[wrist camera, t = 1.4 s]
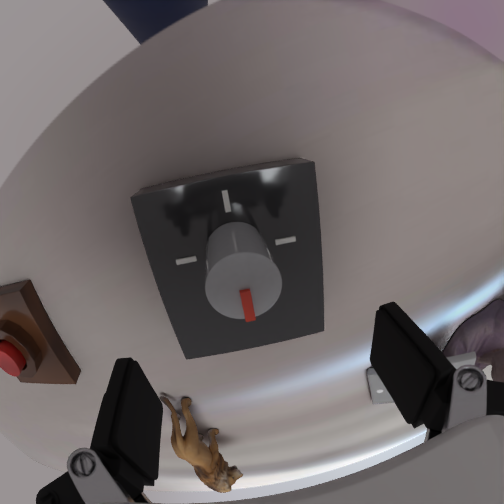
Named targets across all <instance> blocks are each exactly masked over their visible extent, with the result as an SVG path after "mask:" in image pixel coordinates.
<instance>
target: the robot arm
mask: <svg viewBox="0 0 504 504" xmlns="http://www.w3.org/2000/svg"><path fill="white" fill-rule="evenodd" d="M370 362H371V365H372V367H373V368H374V370H375V371H376V373H377V375H378V376H379V378H380V379H381V381H382V383H383V384H384V386H385V388H386V389H387V391H388V392H389V394H390V396H391V397H392V399H393V401H394V402H395V404H396V406H397V407H398V409H399V411H400V412H401V414H402V416H403V417H404V419H405V421H406V422H407V423H408V424H412V426H413V427H414V428H416V427H418V426H420V425H422V424H425V426H426V428H427V432H426V437H425V441H424V443H422V444H420V445H418V446H416V447H414V448H412V449H410V450H408V451H406V452H404V453H402V454H399V455H397V456H395V457H393V458H391V459H389V460H386V461H384V462H381V463H379V464H377V465H374V466H372V467H369V468H367V469H364V470H361V471H359V472H356V473H353V474H350V475H348V476H345V477H341V478H338V479H335V480H332V481H329V482H325V483H322V484H318V485H315V486H311V487H307V488H303V489H299V490H295V491H290V492H286V493H281V494H276V495H270V496H265V497H258V498H252V499H244V500H236V501H227V502H214V503H195V504H504V382H498V381H491V380H486V375H485V374H484V372H483V371H482V370H481V369H480V368H479V367H477V366H474V365H463V366H460V367H459V368H458V369H456V368H455V367H454V366H453V365H452V364H451V362H450V361H449V360H448V359H447V358H446V357H445V356H444V354H443V353H442V352H441V351H440V350H439V349H438V348H437V346H436V345H435V344H434V343H433V342H432V341H431V340H430V339H429V338H428V336H427V335H426V334H425V333H424V332H423V331H422V330H421V329H420V328H419V327H418V326H417V325H416V324H415V323H414V322H413V321H412V320H411V319H410V317H409V316H408V315H407V314H406V313H405V312H404V311H403V310H402V309H401V308H400V307H399V306H398V305H397V304H396V303H395V302H390V303H387V304H384V305H381V306H380V307H379V310H377V311H376V317H375V325H374V333H373V341H372V348H371V354H370ZM162 415H163V406H162V403H161V401H160V399H159V398H158V396H157V394H156V393H155V391H154V389H153V388H152V386H151V384H150V383H149V381H148V379H147V378H146V376H145V374H144V372H143V371H142V369H141V367H140V365H139V364H138V362H137V361H134V360H133V359H132V358H120V359H117V360H116V362H115V365H114V368H113V371H112V374H111V377H110V381H109V384H108V387H107V391H106V393H105V394H104V396H103V400H102V403H101V407H100V411H99V414H98V418H97V422H96V426H95V430H94V434H93V438H92V442H91V446H90V449H89V448H80V449H77V450H75V451H74V452H73V453H71V455H70V456H69V458H68V461H67V469H68V471H67V472H66V473H64V474H63V475H62V476H60V477H59V478H57V479H56V480H54V481H53V482H51V483H50V484H48V485H47V486H45V487H43V488H42V489H41V490H40V491H39V492H38V494H37V497H36V504H159V503H152V502H151V501H150V500H149V499H148V498H147V497H146V495H145V494H144V493H143V488H144V485H145V486H154V480H157V478H158V470H159V452H160V438H161V426H162ZM192 504H194V503H192Z"/></svg>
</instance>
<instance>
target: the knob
mask: <svg viewBox="0 0 504 504" xmlns="http://www.w3.org/2000/svg"><path fill="white" fill-rule="evenodd" d="M281 289H282V277H281V273H280V271H279V269H278V267H277V265H276V263H275V261H274V259H273V256H272V254H271V252H270V250H269V248H268V246H267V244H266V242H265V240H264V238H263V236H262V235H261V233H260V232H259V231H258V230H257V229H256V228H255V227H253V226H251V225H249V224H247V223H243V222H230V223H226V224H224V225H222V226H220V227H218V228H217V229H216V230H215V231H214V232H213V233H212V234H211V235H210V237H209V239H208V241H207V245H206V260H205V292H206V296H207V299H208V301H209V303H210V304H211V305H212V307H213V308H214V309H215V310H216V311H218V312H219V313H221V314H222V315H225V316H227V317H230V318H235V319H245V320H246V322H250V321H255V320H256V316H259V315H261V314H263V313H264V312H266V311H268V310H269V309H270V308H271V307H272V306H273V305H274V304H275V302H276V301H277V299H278V298H279V295H280V293H281Z"/></svg>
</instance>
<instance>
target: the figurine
mask: <svg viewBox="0 0 504 504" xmlns="http://www.w3.org/2000/svg"><path fill="white" fill-rule="evenodd" d="M470 352H475V353H476V361H475V365H474V366H477V367H479V368H480V369H481V370H483V369H484V368H485V367H486V366H488V365H492V371H491V376H492V379H493V381H498V382H504V301H503V300H496V301H493V302H492V303H491V304H490V305H488V306H487V307H486V308H485V309H484V310H482V311H481V312H479V313H478V314H476V315H474V316H473V317H471V318H470V319H468V320H467V321H465V322H464V323H463V324H462V325H461V326H460V327H459V328H458V329H457V331H456V332H455V334H454V335H453V337H452V338H451V340H450V341H449V343H448V344H447V346H446V347H445V349H444V351H443V354H444V356H445V357H451V356H456V355H461V354H465V353H470Z"/></svg>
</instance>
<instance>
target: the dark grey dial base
mask: <svg viewBox="0 0 504 504" xmlns="http://www.w3.org/2000/svg"><path fill="white" fill-rule="evenodd" d="M131 202H132V205H133V209H134V213H135V216H136V220H137V224H138V227H139V230H140V234H141V237H142V240H143V244H144V247H145V250H146V253H147V257H148V260H149V263H150V266H151V269H152V272H153V275H154V278H155V281H156V283H157V286H158V289H159V292H160V295H161V297H162V300H163V303H164V306H165V308H166V311H167V314H168V316H169V319H170V321H171V324H172V326H173V329H174V331H175V334H176V336H177V339H178V341H179V344H180V346H181V348H182V351H183V353H184V355H185V358H186V359H192V358H199V357H205V356H211V355H217V354H223V353H228V352H234V351H239V350H244V349H249V348H254V347H259V346H264V345H268V344H273V343H277V342H282V341H286V340H290V339H294V338H298V337H302V336H306V335H310V334H314V333H318V332H322V331H324V294H323V266H322V246H321V230H320V216H319V204H318V193H317V182H316V172H315V163H314V162H313V161H310V160H306V159H303V158H294V159H287V160H280V161H273V162H267V163H260V164H254V165H248V166H243V167H237V168H231V169H226V170H221V171H216V172H211V173H206V174H201V175H196V176H192V177H187V178H183V179H178V180H174V181H170V182H165V183H161V184H157V185H153V186H149V187H145V188H141V189H140V190H139V191H138V192H137V193H135V194H134V195H133V196H132V197H131ZM230 222H243V223H247V224H249V225H251V226H253V227H255V228H256V229H257V230H258V231H259V232H260V233H261V235H262V236H263V238H264V240H265V242H266V244H267V246H268V248H269V250H270V252H271V254H272V256H273V259H274V261H275V263H276V265H277V267H278V269H279V271H280V273H281V277H282V289H281V293H280V295H279V298H278V299H277V301H276V302H275V304H274V305H273V306H272V307H271V308H270V309H269V310H268V311H266V312H264V313H263V314H261V315H259V316H256V320H255V321H250V322H246V320H245V319H235V318H230V317H227V316H225V315H222V314H221V313H219V312H218V311H216V310H215V309H214V308H213V307H212V305H211V304H210V303H209V301H208V299H207V296H206V292H205V260H206V245H207V241H208V239H209V237H210V235H211V234H212V233H213V232H214V231H215V230H216V229H217V228H218V227H220V226H222V225H224V224H226V223H230Z"/></svg>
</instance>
